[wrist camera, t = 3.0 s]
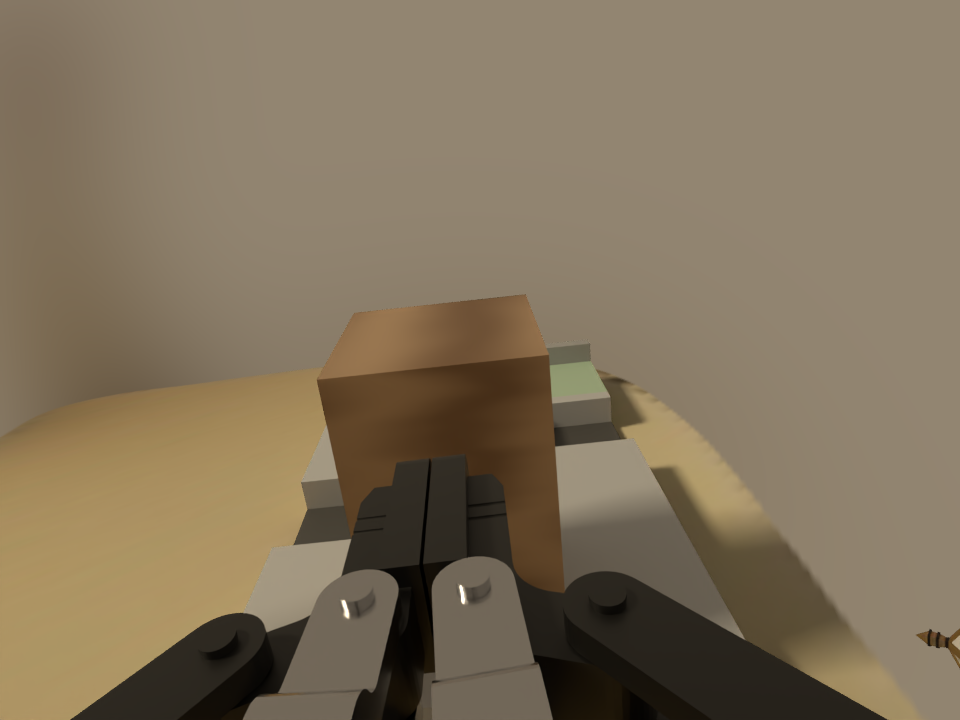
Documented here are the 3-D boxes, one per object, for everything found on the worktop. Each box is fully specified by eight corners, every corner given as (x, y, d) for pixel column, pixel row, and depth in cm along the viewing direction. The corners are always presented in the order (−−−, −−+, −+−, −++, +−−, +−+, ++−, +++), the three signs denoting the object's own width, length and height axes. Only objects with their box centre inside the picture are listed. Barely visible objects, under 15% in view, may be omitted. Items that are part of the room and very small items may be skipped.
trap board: (209, 781, 22) (178, 700, 21) (350, 410, 51) (341, 365, 50) (759, 724, 22) (766, 640, 21) (589, 384, 51) (587, 339, 50)
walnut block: (381, 676, 23) (316, 379, 18) (398, 553, 29) (354, 312, 25) (569, 657, 23) (549, 354, 18) (544, 538, 29) (525, 294, 25)
